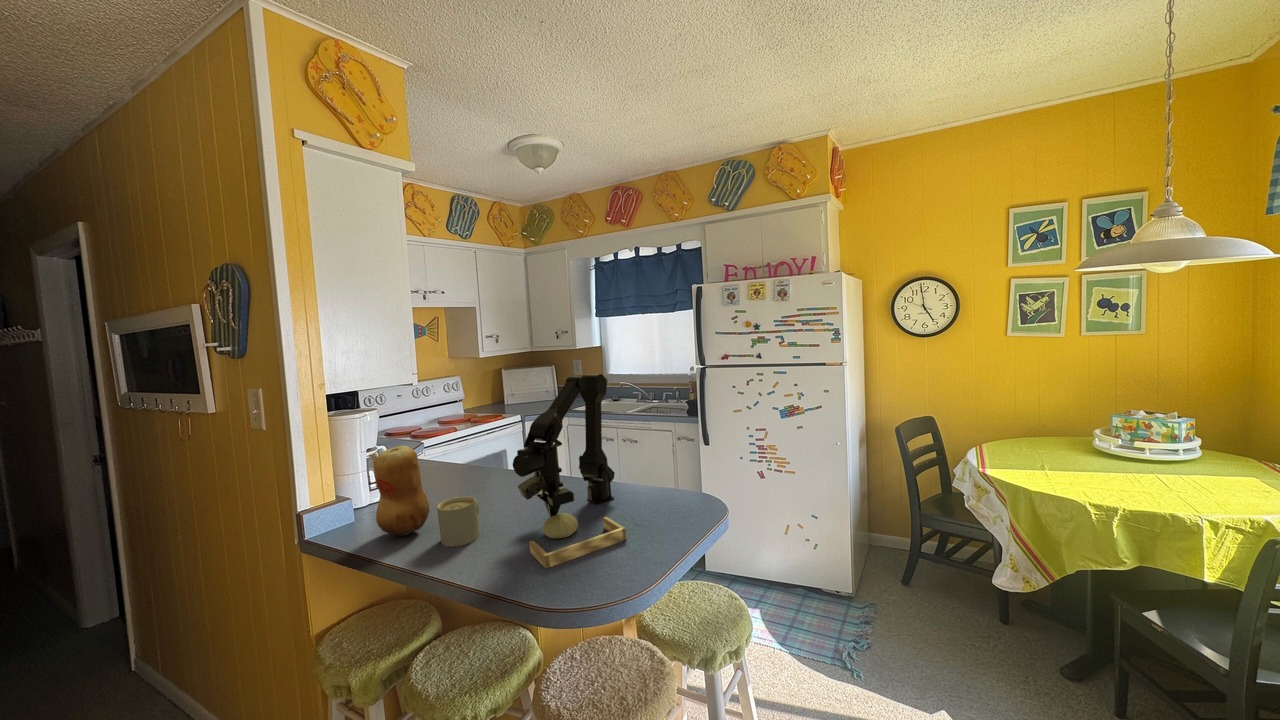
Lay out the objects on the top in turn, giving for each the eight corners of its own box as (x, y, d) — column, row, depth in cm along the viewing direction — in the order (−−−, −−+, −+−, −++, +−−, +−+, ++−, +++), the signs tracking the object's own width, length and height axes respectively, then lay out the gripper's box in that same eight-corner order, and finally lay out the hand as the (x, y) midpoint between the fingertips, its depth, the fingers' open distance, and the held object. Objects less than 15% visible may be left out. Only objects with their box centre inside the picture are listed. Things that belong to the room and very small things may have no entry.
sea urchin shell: (536, 525, 138) (554, 500, 140) (558, 539, 141) (576, 515, 142) (543, 537, 130) (563, 511, 131) (566, 553, 132) (585, 527, 134)
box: (607, 527, 137) (606, 516, 137) (626, 539, 129) (625, 528, 129) (530, 553, 126) (529, 541, 125) (546, 568, 117) (545, 556, 117)
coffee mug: (459, 549, 131) (455, 512, 130) (433, 543, 136) (428, 507, 135) (496, 528, 143) (492, 493, 142) (470, 523, 148) (466, 490, 147)
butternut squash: (368, 542, 140) (356, 454, 138) (404, 522, 153) (394, 441, 150) (408, 545, 136) (397, 455, 133) (442, 524, 148) (432, 441, 146)
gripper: (508, 464, 142) (513, 517, 144) (532, 480, 127) (538, 540, 128) (545, 455, 148) (550, 507, 150) (572, 470, 132) (577, 527, 134)
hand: (553, 519), depth 140 cm, fingers closed
